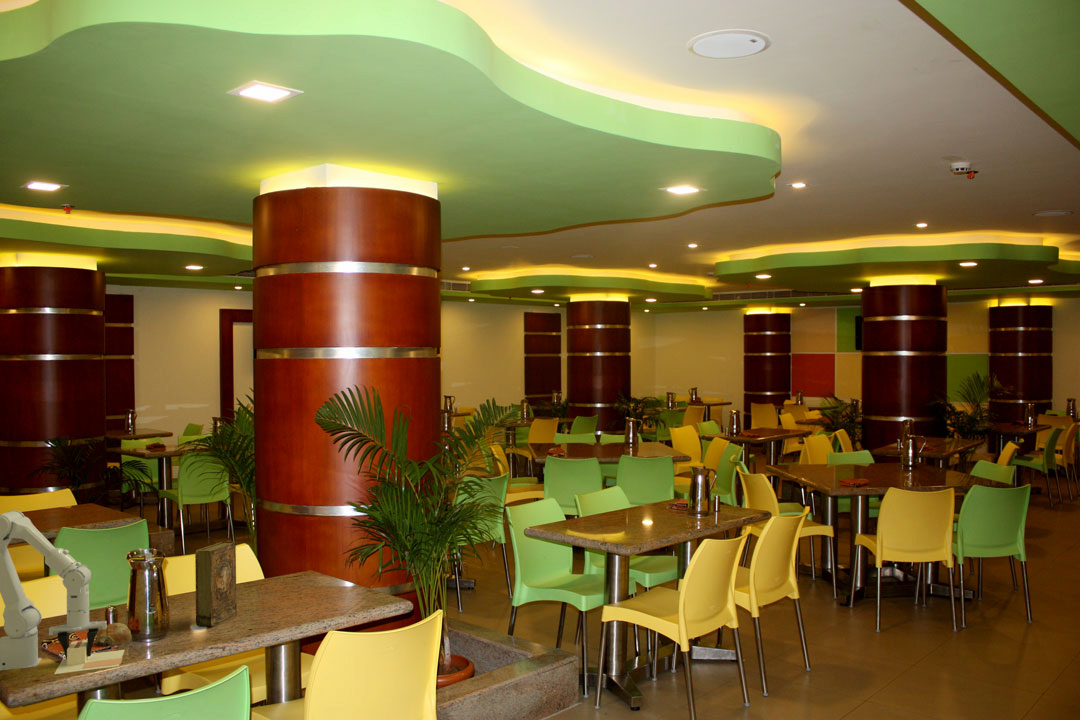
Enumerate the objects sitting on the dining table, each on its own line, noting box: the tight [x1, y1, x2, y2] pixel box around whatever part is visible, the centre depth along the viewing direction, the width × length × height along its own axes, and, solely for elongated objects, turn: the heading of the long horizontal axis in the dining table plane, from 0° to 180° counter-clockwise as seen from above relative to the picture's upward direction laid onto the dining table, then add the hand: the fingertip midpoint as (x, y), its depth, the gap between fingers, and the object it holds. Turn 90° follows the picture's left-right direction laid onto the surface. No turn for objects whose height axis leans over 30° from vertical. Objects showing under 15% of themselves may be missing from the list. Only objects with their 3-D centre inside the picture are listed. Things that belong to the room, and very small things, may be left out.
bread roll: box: [94, 622, 133, 647], centre depth 264 cm, size 10×10×8 cm
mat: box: [54, 649, 125, 675], centre depth 245 cm, size 16×16×1 cm
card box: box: [67, 639, 88, 666], centre depth 246 cm, size 4×8×5 cm, turn 20°
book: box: [194, 540, 238, 628], centre depth 287 cm, size 16×6×25 cm, turn 168°
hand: (78, 656), depth 246 cm, fingers open, 5 cm apart
